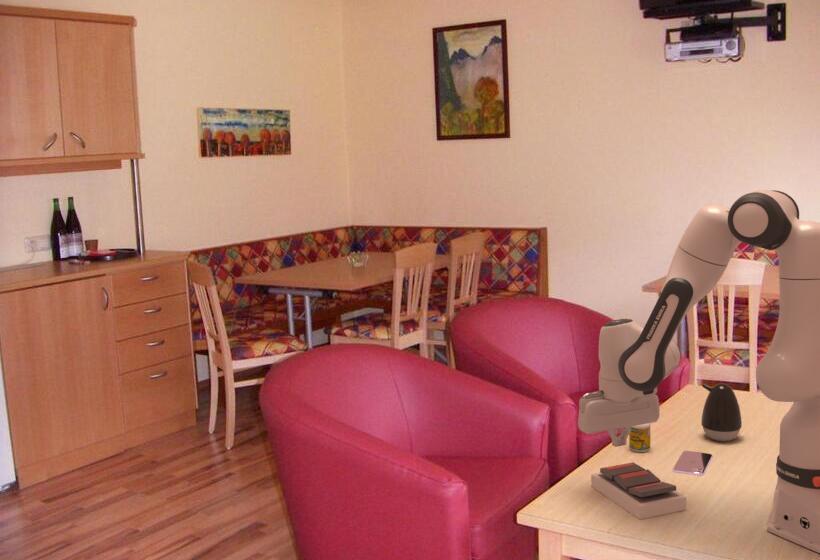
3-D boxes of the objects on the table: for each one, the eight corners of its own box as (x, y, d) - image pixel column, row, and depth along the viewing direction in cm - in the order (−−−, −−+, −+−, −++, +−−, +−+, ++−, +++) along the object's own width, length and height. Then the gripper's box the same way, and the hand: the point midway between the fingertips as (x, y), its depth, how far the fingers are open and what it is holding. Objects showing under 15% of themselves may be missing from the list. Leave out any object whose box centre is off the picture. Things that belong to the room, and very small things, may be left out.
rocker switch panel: (686, 509, 201) (686, 496, 200) (639, 519, 197) (639, 505, 196) (634, 478, 219) (634, 465, 219) (591, 486, 215) (591, 473, 215)
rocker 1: (645, 473, 212) (645, 468, 212) (611, 479, 209) (611, 475, 209) (633, 466, 217) (633, 461, 217) (600, 472, 214) (600, 467, 214)
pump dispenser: (708, 429, 251) (709, 376, 249) (746, 436, 245) (748, 381, 242) (694, 439, 243) (695, 385, 241) (733, 447, 237) (734, 391, 234)
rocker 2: (660, 484, 207) (660, 480, 206) (626, 490, 204) (626, 486, 203) (647, 473, 211) (648, 469, 211) (614, 479, 208) (614, 475, 208)
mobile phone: (713, 453, 232) (703, 473, 219) (713, 456, 232) (703, 477, 219) (683, 449, 235) (671, 469, 222) (683, 452, 235) (671, 473, 222)
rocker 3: (676, 490, 201) (676, 485, 201) (641, 497, 198) (641, 492, 198) (663, 486, 206) (662, 481, 206) (628, 492, 203) (628, 487, 203)
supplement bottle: (652, 447, 239) (652, 412, 237) (647, 454, 234) (647, 418, 233) (632, 444, 242) (632, 409, 240) (626, 451, 237) (626, 415, 235)
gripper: (586, 397, 205) (587, 456, 207) (663, 385, 212) (663, 442, 214) (572, 391, 211) (573, 448, 213) (647, 379, 217) (647, 434, 219)
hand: (619, 445), depth 213 cm, fingers closed
